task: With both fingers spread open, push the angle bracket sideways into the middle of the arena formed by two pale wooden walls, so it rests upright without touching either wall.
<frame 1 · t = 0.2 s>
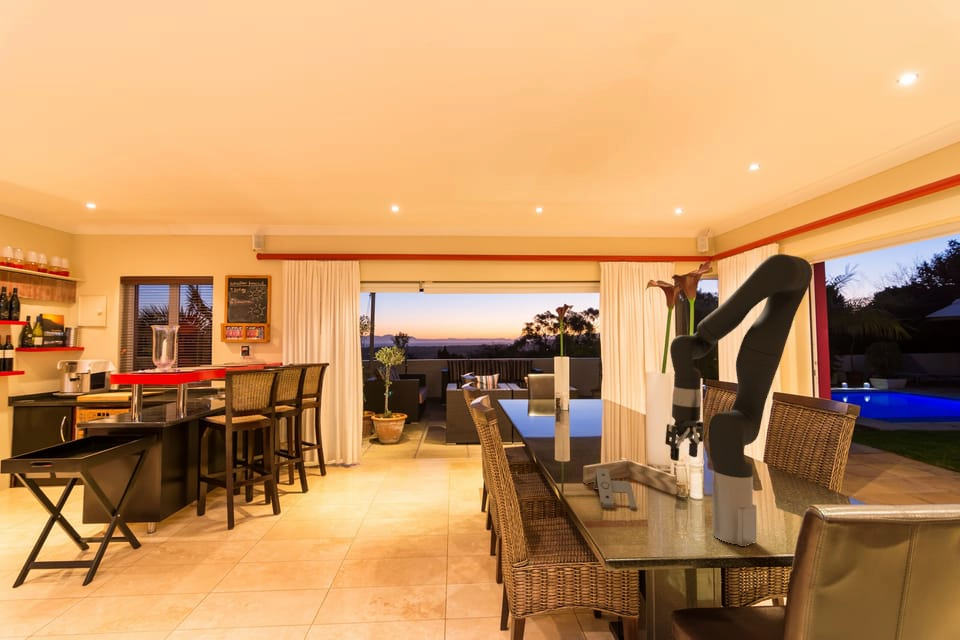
hand: (683, 458, 128), 17 cm above the table, tool pointing down, fingers open, 8 cm apart
fence: (628, 486, 153), on the table
bracket: (613, 500, 141), on the table
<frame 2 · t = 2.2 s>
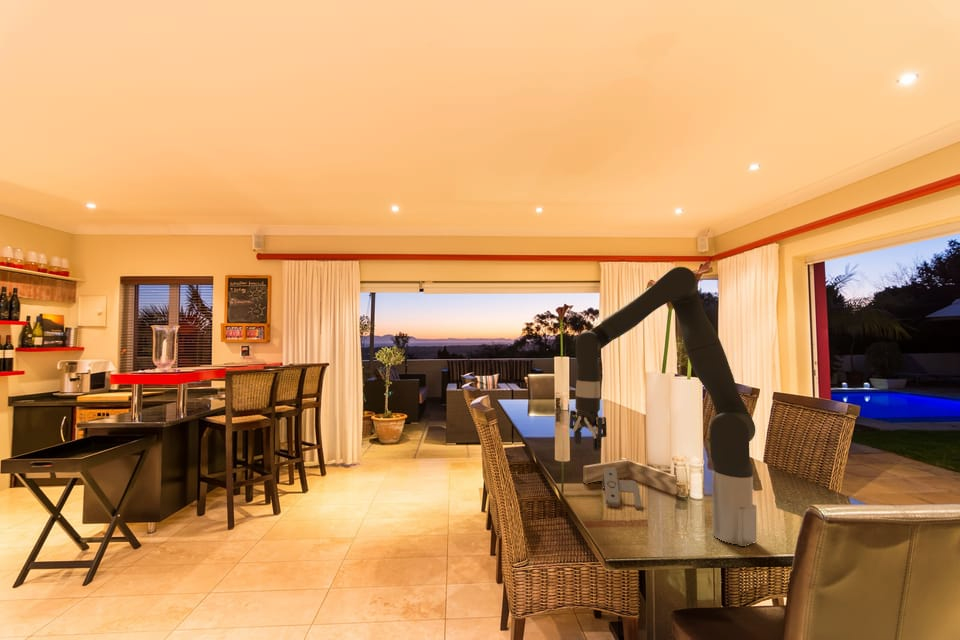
hand: (586, 446, 136), 18 cm above the table, tool pointing down, fingers open, 8 cm apart
bracket: (620, 500, 142), on the table
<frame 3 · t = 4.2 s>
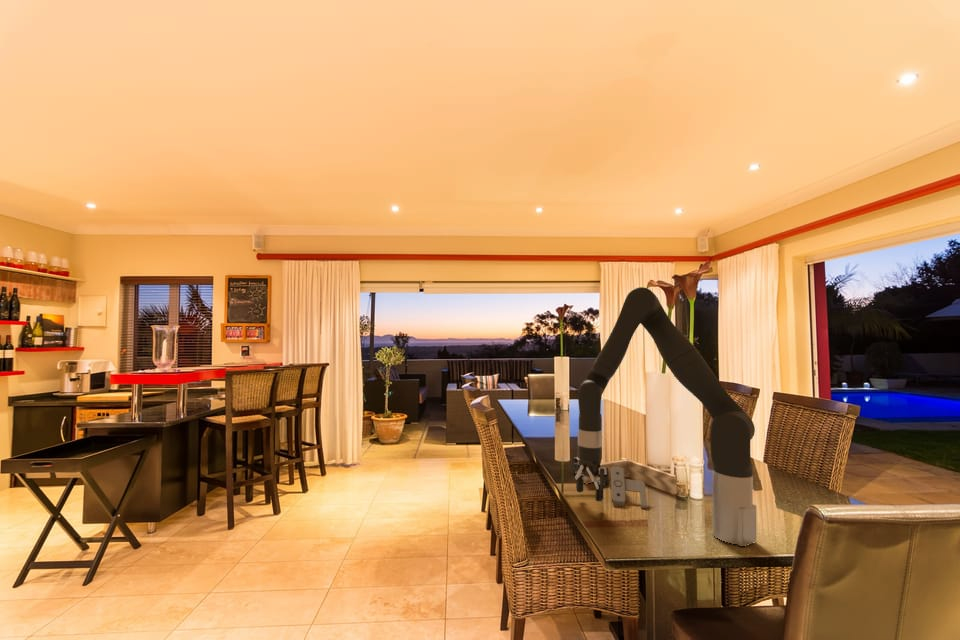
hand: (589, 496, 136), 3 cm above the table, tool pointing down, fingers open, 8 cm apart
bracket: (627, 499, 142), on the table
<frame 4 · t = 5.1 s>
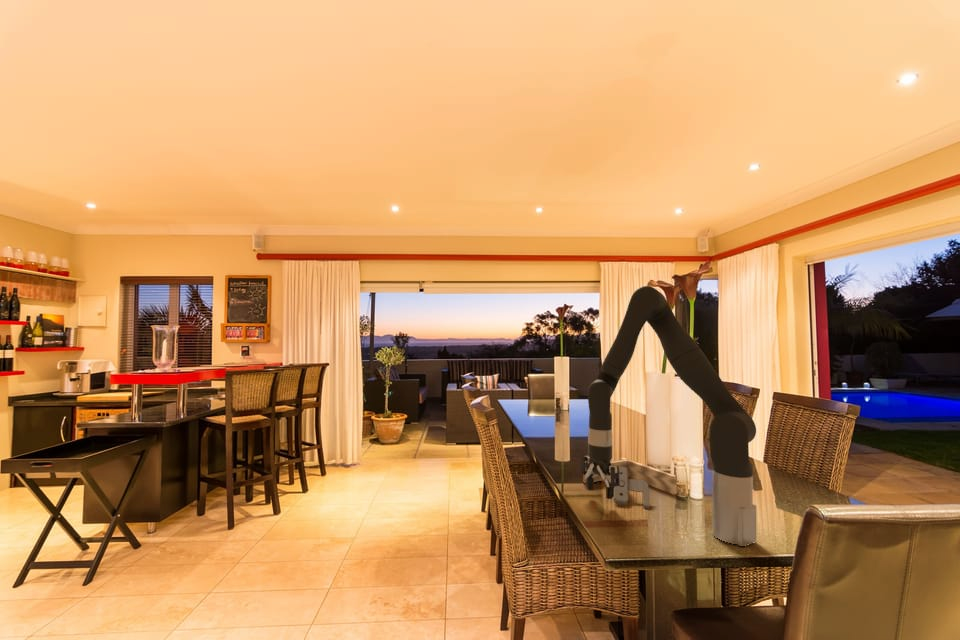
hand: (599, 494, 138), 3 cm above the table, tool pointing down, fingers open, 8 cm apart
bracket: (630, 499, 143), on the table
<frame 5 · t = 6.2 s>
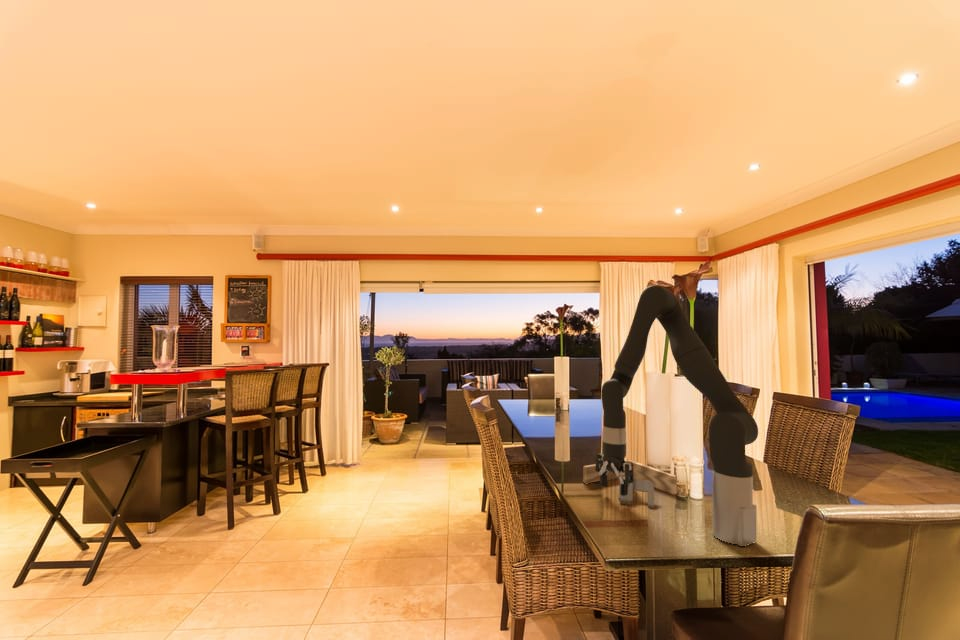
hand: (613, 490, 141), 3 cm above the table, tool pointing down, fingers open, 8 cm apart
bracket: (636, 499, 143), on the table
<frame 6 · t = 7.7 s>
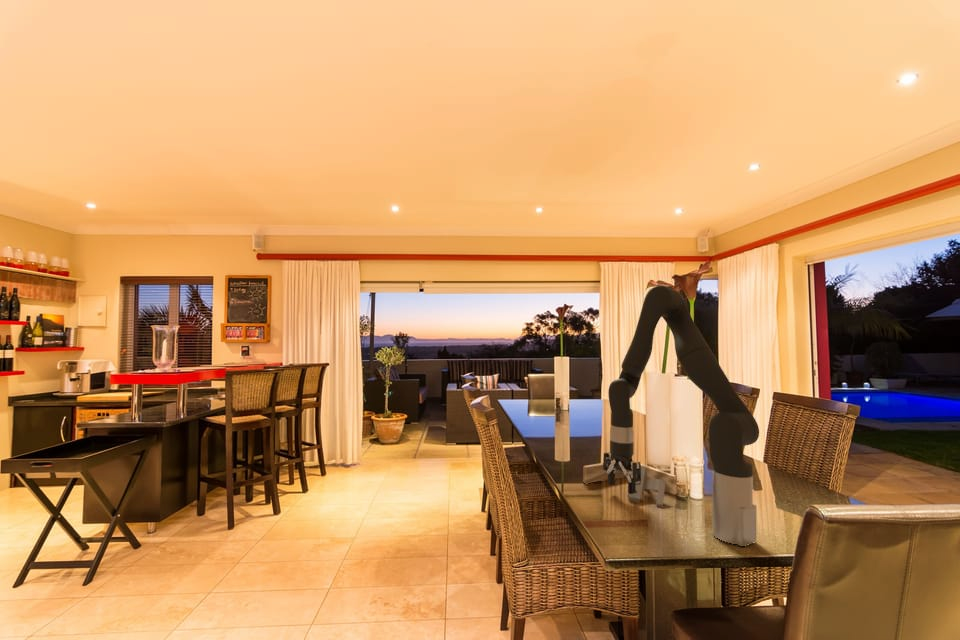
hand: (621, 489, 143), 3 cm above the table, tool pointing down, fingers open, 8 cm apart
bracket: (648, 497, 144), on the table
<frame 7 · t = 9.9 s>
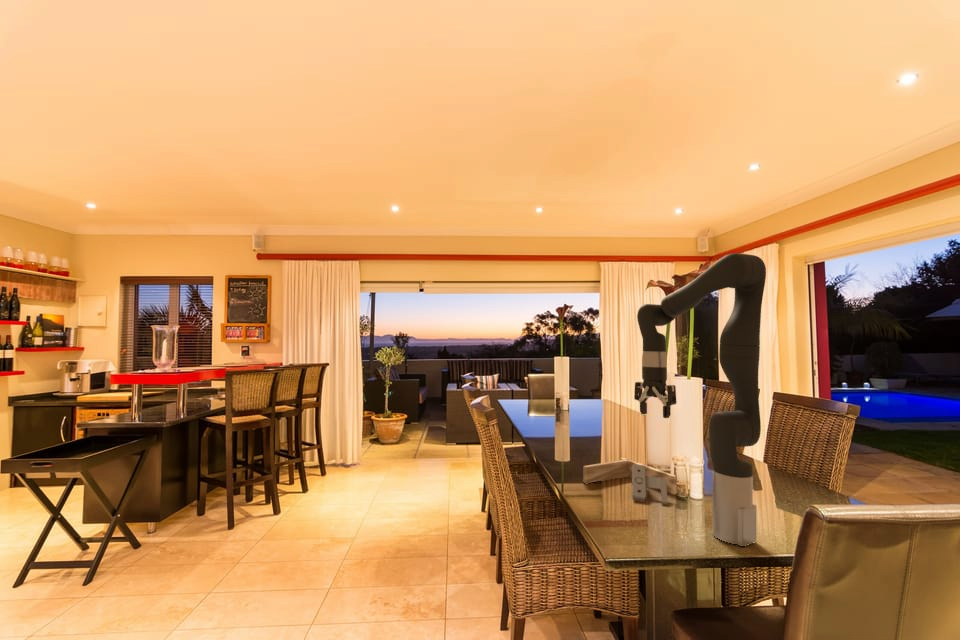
hand: (654, 415, 140), 27 cm above the table, tool pointing down, fingers open, 8 cm apart
bracket: (648, 496, 146), on the table
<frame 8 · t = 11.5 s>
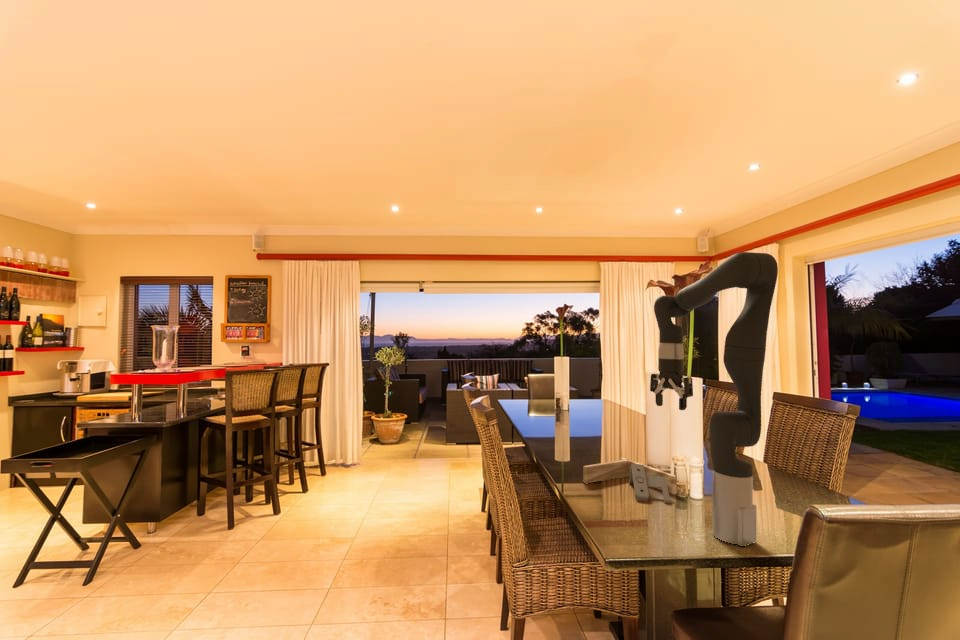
hand: (670, 407, 140), 30 cm above the table, tool pointing down, fingers open, 8 cm apart
bracket: (648, 495, 147), on the table
at the end: bracket inside the target area (4.7 cm from its centre), on the table; bracket touching table; bracket tilted 0° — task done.
